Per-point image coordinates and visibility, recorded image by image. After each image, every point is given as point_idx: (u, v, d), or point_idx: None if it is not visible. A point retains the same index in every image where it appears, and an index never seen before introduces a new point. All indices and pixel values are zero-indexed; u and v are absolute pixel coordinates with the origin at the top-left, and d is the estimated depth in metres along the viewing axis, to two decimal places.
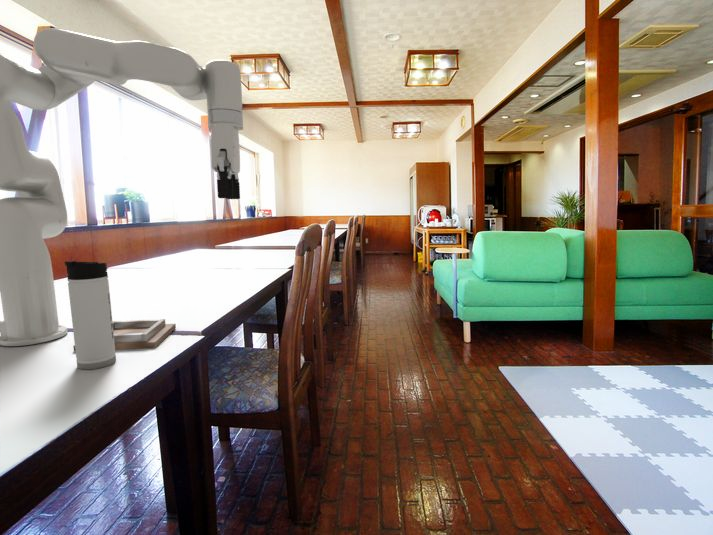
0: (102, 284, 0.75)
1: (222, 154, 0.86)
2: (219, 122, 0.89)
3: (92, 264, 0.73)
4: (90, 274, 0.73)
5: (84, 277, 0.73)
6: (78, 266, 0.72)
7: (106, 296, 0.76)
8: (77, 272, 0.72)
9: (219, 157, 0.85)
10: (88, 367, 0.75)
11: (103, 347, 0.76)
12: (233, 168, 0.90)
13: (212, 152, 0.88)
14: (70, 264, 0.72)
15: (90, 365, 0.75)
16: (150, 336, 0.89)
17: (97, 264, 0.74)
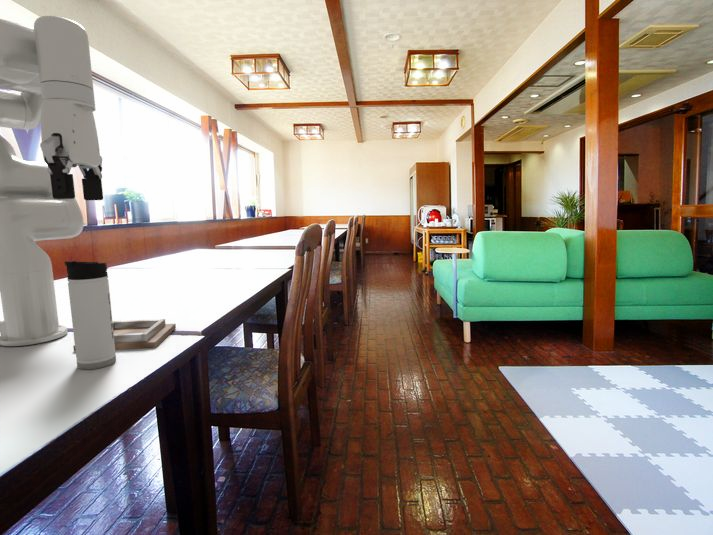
0: (102, 284, 0.75)
1: (50, 140, 0.65)
2: (52, 98, 0.67)
3: (92, 264, 0.73)
4: (90, 274, 0.73)
5: (84, 277, 0.73)
6: (78, 266, 0.72)
7: (106, 296, 0.76)
8: (77, 272, 0.72)
9: (42, 143, 0.63)
10: (88, 367, 0.75)
11: (103, 347, 0.76)
12: (74, 159, 0.68)
13: (42, 138, 0.67)
14: (70, 264, 0.72)
15: (90, 365, 0.75)
16: (150, 336, 0.89)
17: (97, 264, 0.74)
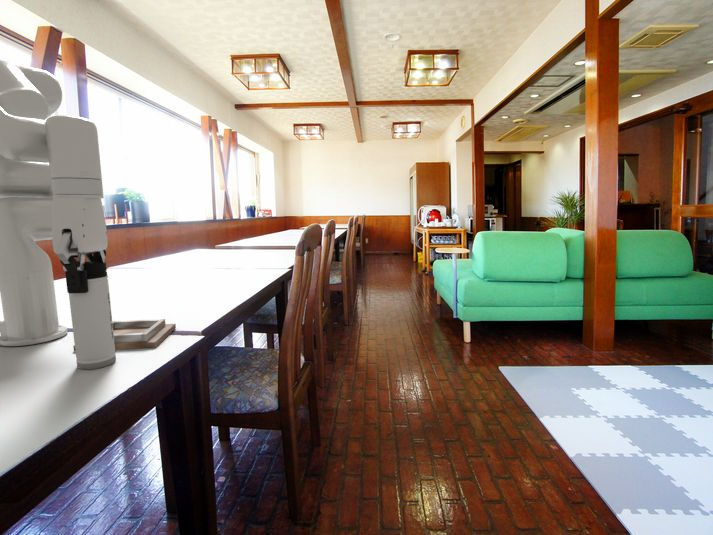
0: (102, 284, 0.75)
1: (63, 244, 0.68)
2: (62, 194, 0.69)
3: (92, 264, 0.73)
4: (89, 274, 0.73)
5: None
6: None
7: (106, 296, 0.76)
8: None
9: (57, 251, 0.67)
10: (88, 367, 0.75)
11: (102, 347, 0.76)
12: (83, 251, 0.71)
13: (53, 233, 0.69)
14: None
15: (90, 365, 0.75)
16: (150, 336, 0.89)
17: (97, 264, 0.74)
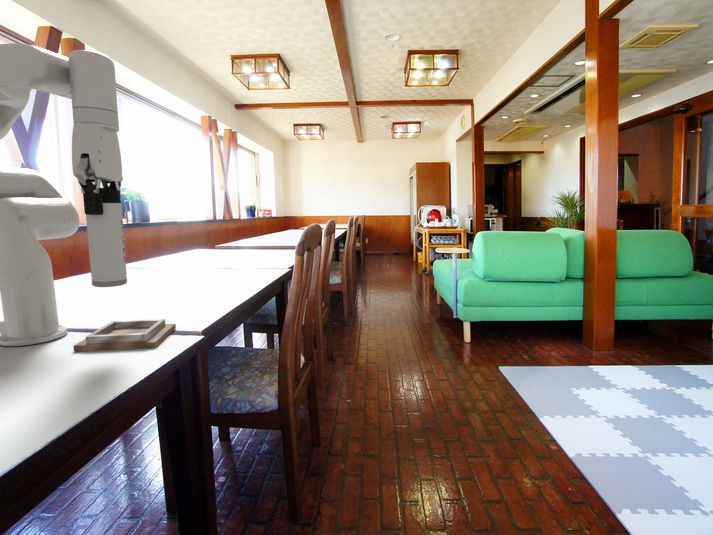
0: (116, 209, 0.82)
1: (81, 166, 0.75)
2: (82, 122, 0.76)
3: (107, 189, 0.80)
4: (105, 199, 0.80)
5: None
6: None
7: (119, 221, 0.83)
8: None
9: (76, 172, 0.74)
10: (101, 285, 0.82)
11: (115, 268, 0.82)
12: (99, 176, 0.78)
13: (72, 157, 0.76)
14: None
15: (103, 283, 0.82)
16: (150, 336, 0.89)
17: (111, 190, 0.81)
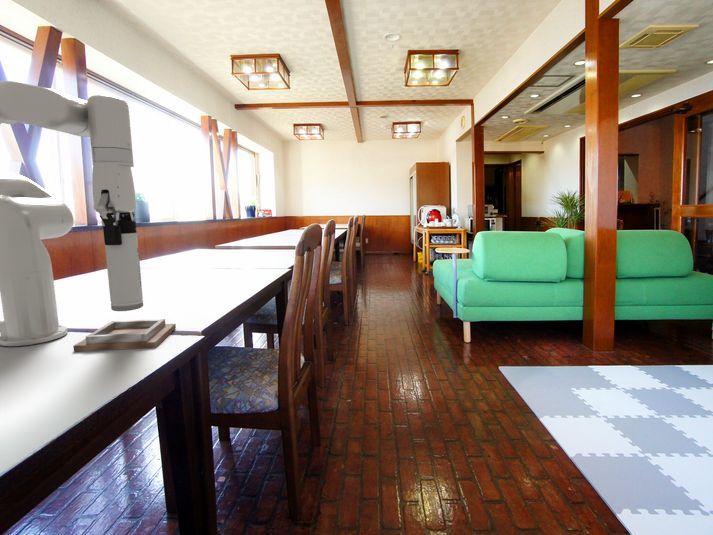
0: (133, 239, 0.88)
1: (103, 202, 0.81)
2: (101, 161, 0.83)
3: (125, 221, 0.87)
4: (123, 230, 0.87)
5: None
6: None
7: (136, 249, 0.89)
8: None
9: (98, 207, 0.80)
10: (121, 309, 0.88)
11: (133, 293, 0.89)
12: (118, 209, 0.84)
13: (93, 193, 0.83)
14: None
15: (123, 307, 0.88)
16: (150, 336, 0.89)
17: (129, 221, 0.87)
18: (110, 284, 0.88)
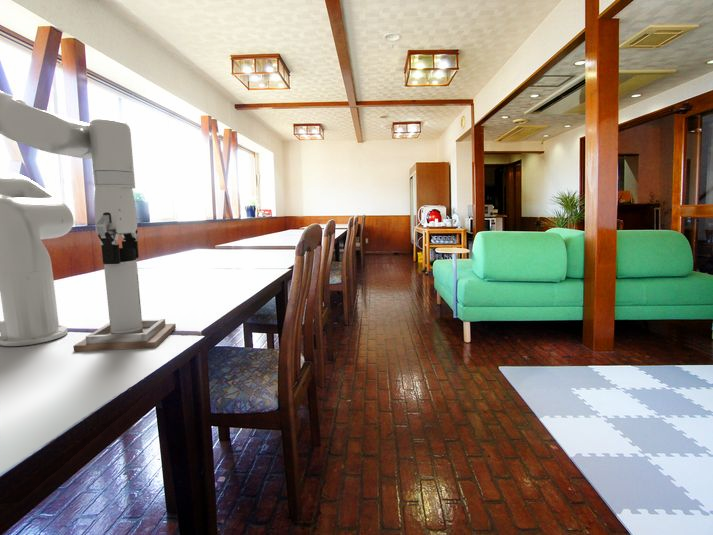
0: (133, 266, 0.89)
1: (103, 220, 0.81)
2: (103, 184, 0.84)
3: (124, 249, 0.87)
4: (122, 258, 0.87)
5: None
6: None
7: (135, 276, 0.90)
8: None
9: (97, 224, 0.80)
10: None
11: (133, 320, 0.90)
12: (120, 232, 0.85)
13: (95, 216, 0.83)
14: None
15: None
16: (150, 336, 0.89)
17: (128, 249, 0.88)
18: (110, 311, 0.88)
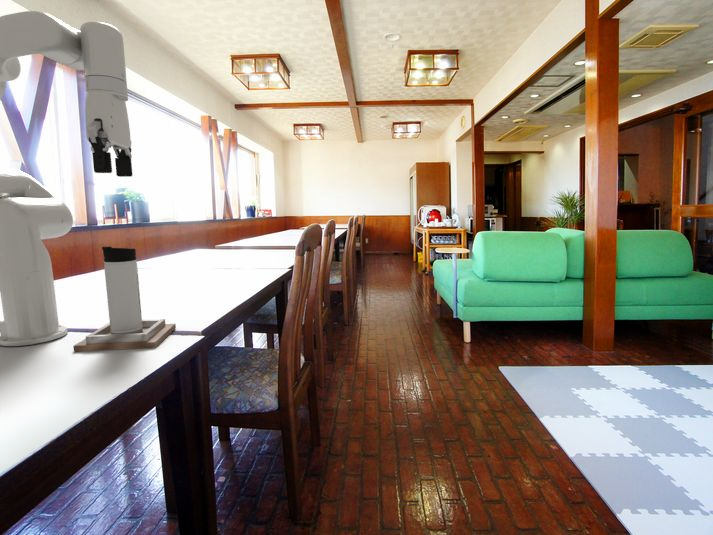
0: (133, 266, 0.89)
1: (93, 124, 0.79)
2: (94, 90, 0.81)
3: (124, 249, 0.87)
4: (123, 258, 0.87)
5: (118, 260, 0.87)
6: (113, 251, 0.86)
7: (135, 276, 0.90)
8: (112, 256, 0.86)
9: (88, 126, 0.78)
10: None
11: (133, 320, 0.90)
12: (111, 140, 0.83)
13: (86, 122, 0.81)
14: (107, 249, 0.86)
15: None
16: (150, 336, 0.89)
17: (128, 249, 0.88)
18: (110, 311, 0.89)
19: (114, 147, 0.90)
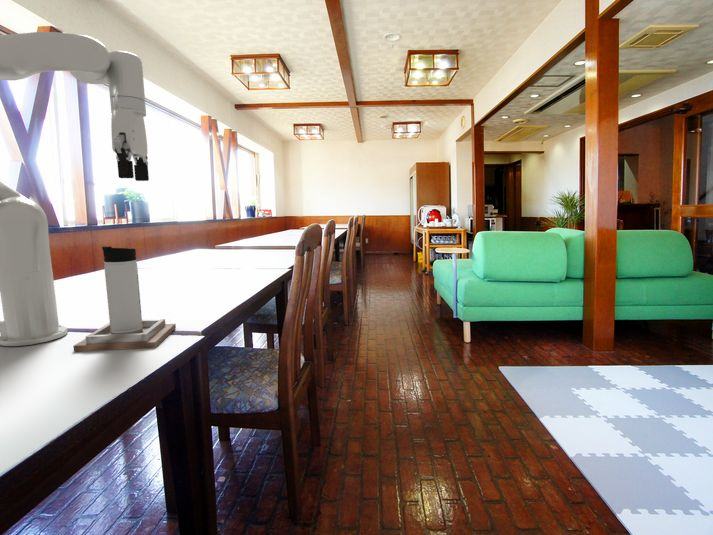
0: (133, 266, 0.89)
1: (119, 137, 0.94)
2: (119, 108, 0.97)
3: (124, 249, 0.87)
4: (123, 258, 0.87)
5: (118, 260, 0.87)
6: (113, 251, 0.86)
7: (135, 276, 0.90)
8: (112, 256, 0.86)
9: (114, 139, 0.93)
10: None
11: (133, 320, 0.90)
12: (133, 150, 0.98)
13: (112, 135, 0.96)
14: (107, 249, 0.86)
15: None
16: (150, 336, 0.89)
17: (128, 249, 0.88)
18: (110, 311, 0.89)
19: (133, 156, 1.05)
